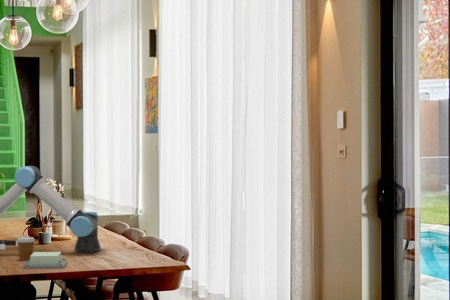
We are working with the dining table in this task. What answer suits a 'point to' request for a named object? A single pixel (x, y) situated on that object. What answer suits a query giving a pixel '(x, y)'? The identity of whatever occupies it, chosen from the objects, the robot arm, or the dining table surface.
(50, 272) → the dining table surface
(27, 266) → the tower base
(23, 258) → the disposable coffee cup
